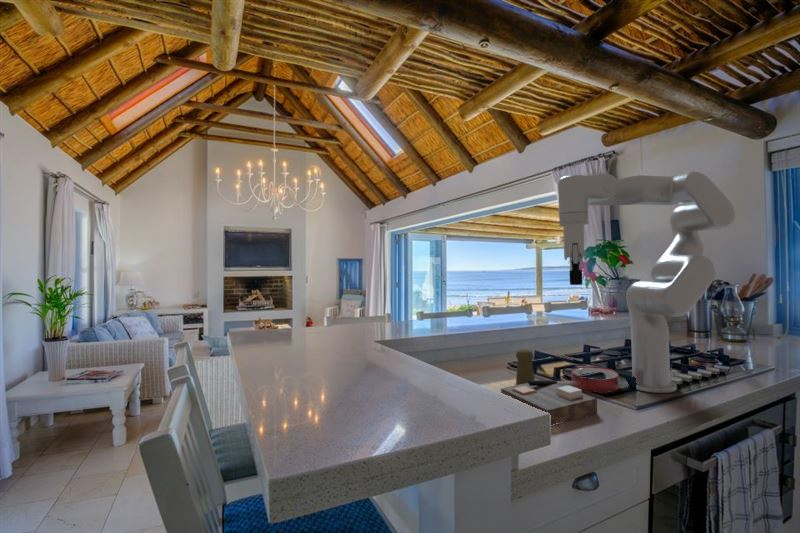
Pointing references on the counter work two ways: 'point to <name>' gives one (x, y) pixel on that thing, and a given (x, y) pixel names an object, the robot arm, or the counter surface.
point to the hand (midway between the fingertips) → (576, 284)
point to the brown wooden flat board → (555, 402)
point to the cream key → (569, 392)
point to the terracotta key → (524, 390)
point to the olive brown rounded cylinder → (524, 366)
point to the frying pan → (586, 380)
